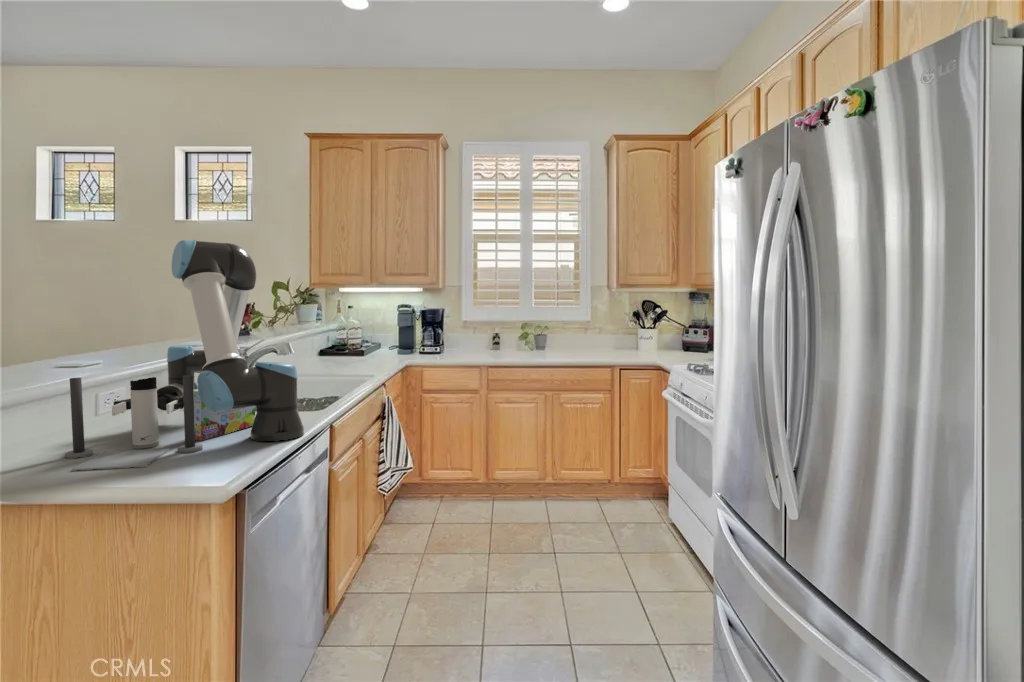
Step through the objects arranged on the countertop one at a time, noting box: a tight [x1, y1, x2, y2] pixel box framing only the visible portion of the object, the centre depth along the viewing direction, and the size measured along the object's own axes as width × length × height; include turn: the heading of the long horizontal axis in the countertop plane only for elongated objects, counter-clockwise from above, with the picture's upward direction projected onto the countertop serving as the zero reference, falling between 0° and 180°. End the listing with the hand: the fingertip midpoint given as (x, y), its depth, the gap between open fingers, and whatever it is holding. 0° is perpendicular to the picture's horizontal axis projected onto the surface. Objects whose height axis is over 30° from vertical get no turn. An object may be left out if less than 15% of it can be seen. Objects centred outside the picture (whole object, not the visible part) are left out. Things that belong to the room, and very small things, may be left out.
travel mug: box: [129, 376, 160, 450], centre depth 154 cm, size 6×7×20 cm
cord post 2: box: [177, 375, 204, 454], centre depth 150 cm, size 6×6×21 cm
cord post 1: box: [64, 377, 94, 459], centre depth 144 cm, size 6×6×21 cm
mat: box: [70, 448, 170, 472], centre depth 141 cm, size 16×16×1 cm
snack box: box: [193, 389, 256, 442], centre depth 171 cm, size 21×6×15 cm, turn 162°
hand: (141, 409), depth 152 cm, fingers open, 13 cm apart
